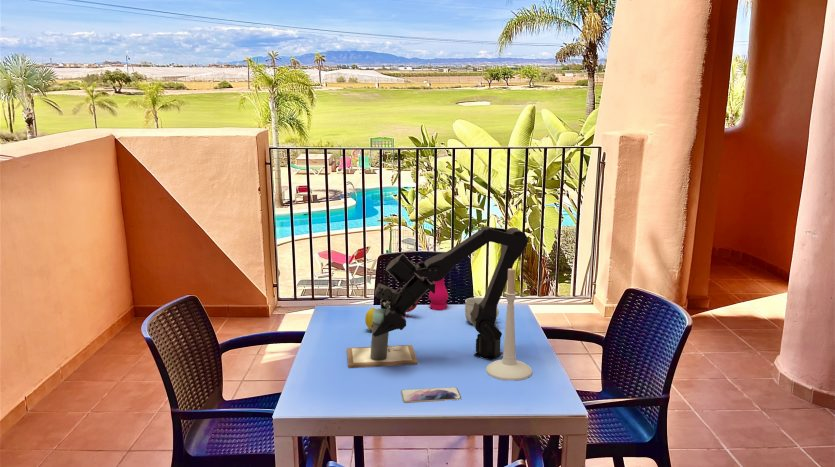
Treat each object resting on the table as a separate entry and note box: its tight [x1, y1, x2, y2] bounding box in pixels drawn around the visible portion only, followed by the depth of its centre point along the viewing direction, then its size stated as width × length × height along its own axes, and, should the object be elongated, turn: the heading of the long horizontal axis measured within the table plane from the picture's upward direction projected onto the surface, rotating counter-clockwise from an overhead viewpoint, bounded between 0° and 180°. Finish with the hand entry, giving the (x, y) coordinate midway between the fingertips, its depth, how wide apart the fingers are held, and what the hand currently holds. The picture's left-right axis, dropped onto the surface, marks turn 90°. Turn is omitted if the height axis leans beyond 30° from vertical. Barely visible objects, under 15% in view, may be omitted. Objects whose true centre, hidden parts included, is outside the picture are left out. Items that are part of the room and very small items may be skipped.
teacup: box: [464, 297, 500, 324], centre depth 226 cm, size 14×11×8 cm
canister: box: [370, 308, 390, 360], centre depth 192 cm, size 5×5×14 cm
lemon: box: [364, 307, 376, 330], centre depth 219 cm, size 6×6×8 cm
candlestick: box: [485, 267, 533, 382], centre depth 183 cm, size 13×13×30 cm
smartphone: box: [400, 386, 462, 404], centre depth 171 cm, size 7×1×15 cm
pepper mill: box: [428, 277, 449, 311], centre depth 244 cm, size 7×7×20 cm
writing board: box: [346, 344, 419, 369], centre depth 197 cm, size 20×14×1 cm
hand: (373, 331), depth 192 cm, fingers open, 7 cm apart
